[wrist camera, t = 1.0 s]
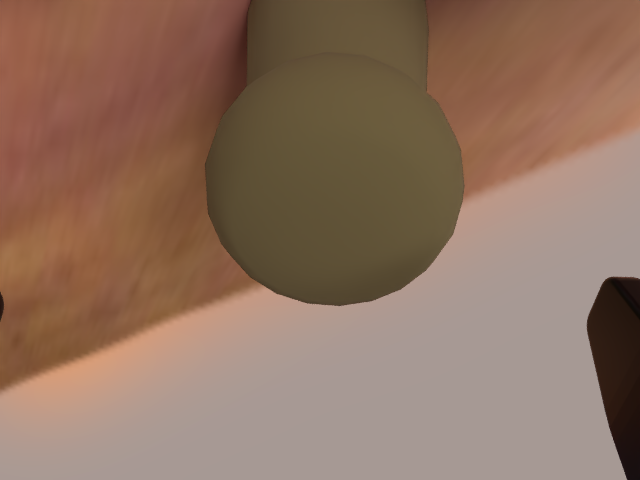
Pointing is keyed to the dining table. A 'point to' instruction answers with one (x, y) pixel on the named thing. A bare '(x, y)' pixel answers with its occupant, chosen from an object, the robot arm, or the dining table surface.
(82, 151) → the dining table surface
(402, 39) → the olive-brown bulbous cylinder
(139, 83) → the dining table surface
